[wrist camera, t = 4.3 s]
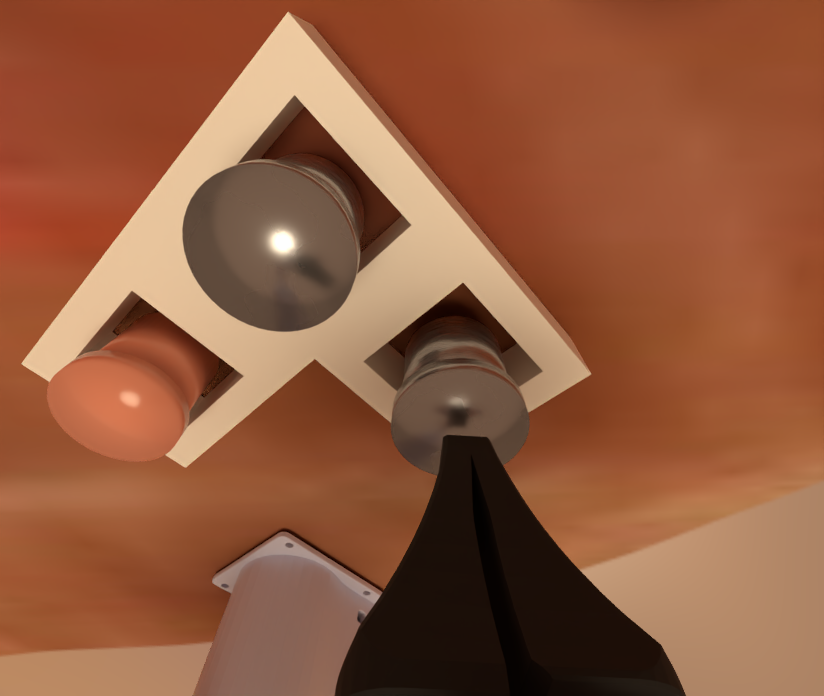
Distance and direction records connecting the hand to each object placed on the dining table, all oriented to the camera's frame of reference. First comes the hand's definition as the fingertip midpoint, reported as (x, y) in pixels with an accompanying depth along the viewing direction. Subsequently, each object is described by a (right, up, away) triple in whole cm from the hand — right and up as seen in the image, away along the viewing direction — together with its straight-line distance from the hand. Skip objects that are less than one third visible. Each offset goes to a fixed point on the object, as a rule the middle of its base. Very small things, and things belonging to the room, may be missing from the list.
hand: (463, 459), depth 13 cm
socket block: (-6, +4, +7) cm, 10 cm away
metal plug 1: (-5, +8, +2) cm, 10 cm away
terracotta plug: (-12, +3, +6) cm, 14 cm away
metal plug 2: (0, +3, +5) cm, 6 cm away
